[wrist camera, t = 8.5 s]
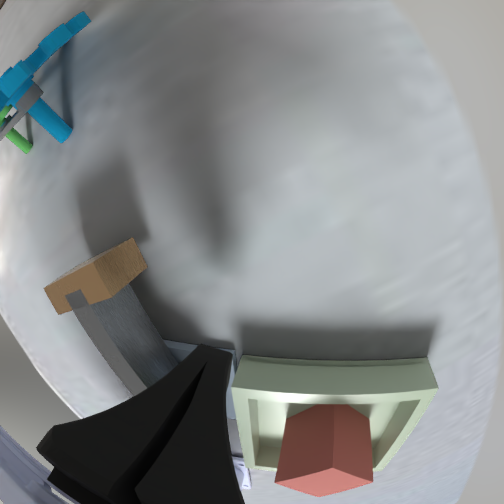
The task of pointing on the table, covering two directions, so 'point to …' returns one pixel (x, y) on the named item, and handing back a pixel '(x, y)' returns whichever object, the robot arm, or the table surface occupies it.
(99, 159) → the table surface
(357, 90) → the table surface
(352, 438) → the block
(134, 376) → the crank
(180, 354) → the crank base
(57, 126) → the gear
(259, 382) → the tray
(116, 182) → the table surface
